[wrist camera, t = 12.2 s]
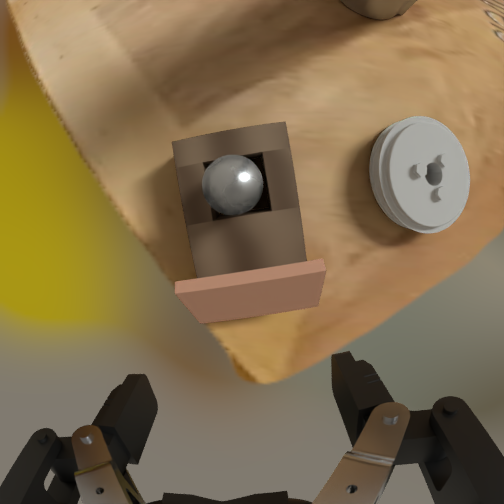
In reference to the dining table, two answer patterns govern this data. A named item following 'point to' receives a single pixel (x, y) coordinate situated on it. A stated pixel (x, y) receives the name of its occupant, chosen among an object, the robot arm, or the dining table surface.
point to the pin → (232, 184)
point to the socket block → (251, 222)
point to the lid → (420, 174)
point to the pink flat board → (253, 292)
